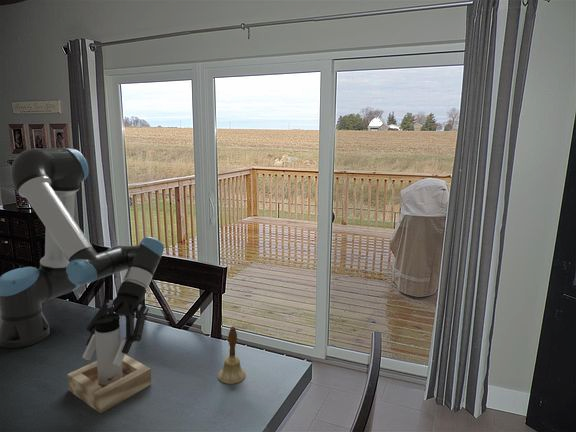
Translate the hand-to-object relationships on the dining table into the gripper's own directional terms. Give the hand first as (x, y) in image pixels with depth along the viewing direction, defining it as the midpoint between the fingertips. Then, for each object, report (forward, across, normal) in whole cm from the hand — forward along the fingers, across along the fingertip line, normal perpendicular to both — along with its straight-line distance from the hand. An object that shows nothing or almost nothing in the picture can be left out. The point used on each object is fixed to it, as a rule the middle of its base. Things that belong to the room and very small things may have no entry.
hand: (100, 362), depth 109 cm
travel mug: (+4, 0, -8) cm, 9 cm away
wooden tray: (+5, 0, -9) cm, 10 cm away
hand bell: (-6, -30, -20) cm, 37 cm away
